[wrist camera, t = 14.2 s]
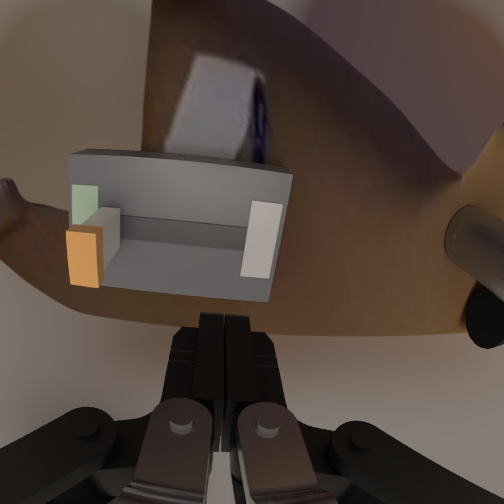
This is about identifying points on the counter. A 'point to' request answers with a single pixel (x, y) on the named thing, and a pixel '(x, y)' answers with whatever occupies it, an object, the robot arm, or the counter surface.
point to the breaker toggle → (93, 246)
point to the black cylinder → (485, 319)
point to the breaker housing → (185, 220)
